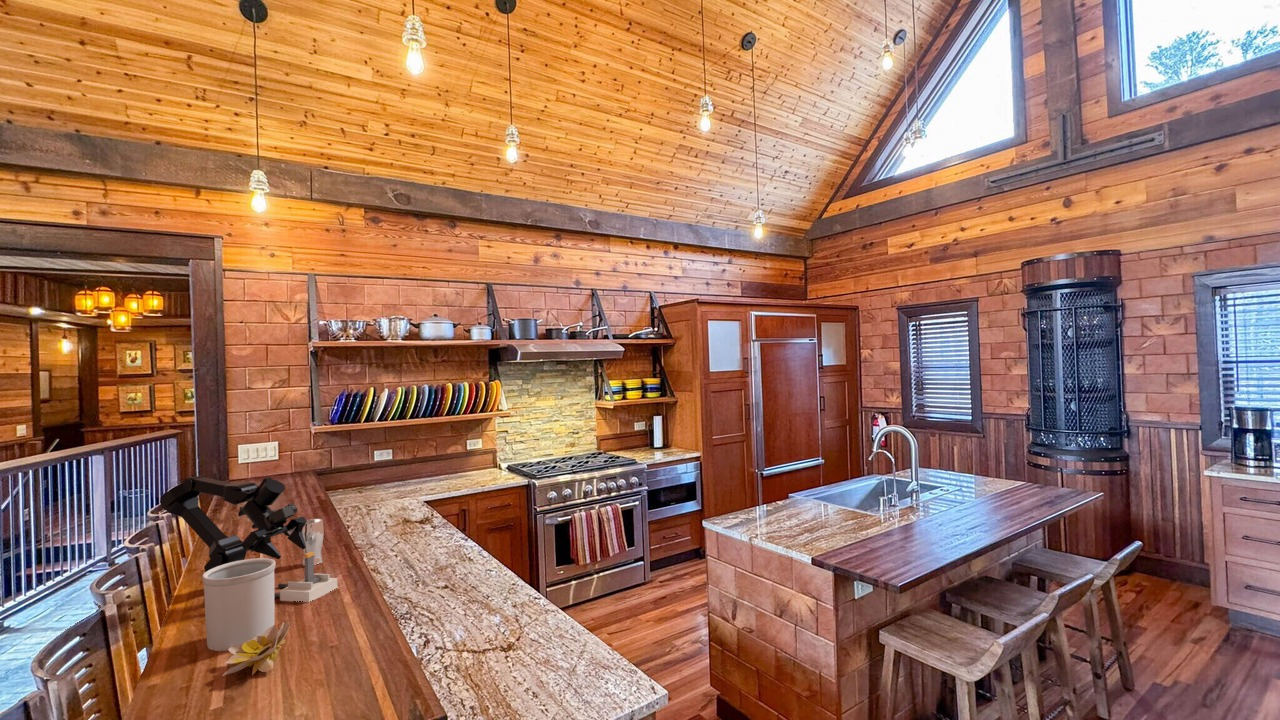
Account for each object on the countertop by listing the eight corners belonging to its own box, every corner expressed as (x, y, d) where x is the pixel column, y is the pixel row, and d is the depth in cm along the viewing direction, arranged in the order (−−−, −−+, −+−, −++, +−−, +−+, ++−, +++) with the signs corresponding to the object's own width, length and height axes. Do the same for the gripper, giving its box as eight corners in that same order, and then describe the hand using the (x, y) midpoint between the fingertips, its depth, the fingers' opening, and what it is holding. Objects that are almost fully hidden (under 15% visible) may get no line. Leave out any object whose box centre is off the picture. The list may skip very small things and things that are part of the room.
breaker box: (253, 598, 163) (253, 582, 163) (284, 584, 174) (284, 569, 174) (309, 602, 159) (309, 585, 159) (337, 587, 170) (337, 572, 170)
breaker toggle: (298, 585, 163) (298, 555, 163) (311, 579, 168) (311, 550, 168) (307, 586, 163) (306, 556, 163) (320, 580, 167) (319, 550, 168)
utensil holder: (238, 655, 129) (237, 579, 129) (186, 650, 132) (186, 577, 132) (290, 626, 143) (289, 559, 144) (242, 623, 146) (242, 556, 147)
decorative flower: (232, 647, 129) (243, 605, 129) (287, 648, 133) (297, 607, 134) (210, 685, 115) (222, 637, 115) (272, 685, 119) (284, 638, 120)
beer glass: (316, 567, 190) (315, 523, 190) (296, 567, 190) (296, 523, 190) (328, 560, 197) (327, 518, 197) (309, 560, 197) (308, 518, 197)
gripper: (249, 504, 159) (282, 544, 157) (301, 491, 178) (331, 526, 175) (227, 531, 161) (259, 570, 158) (281, 515, 179) (311, 550, 176)
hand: (292, 553), depth 167 cm, fingers open, 9 cm apart
